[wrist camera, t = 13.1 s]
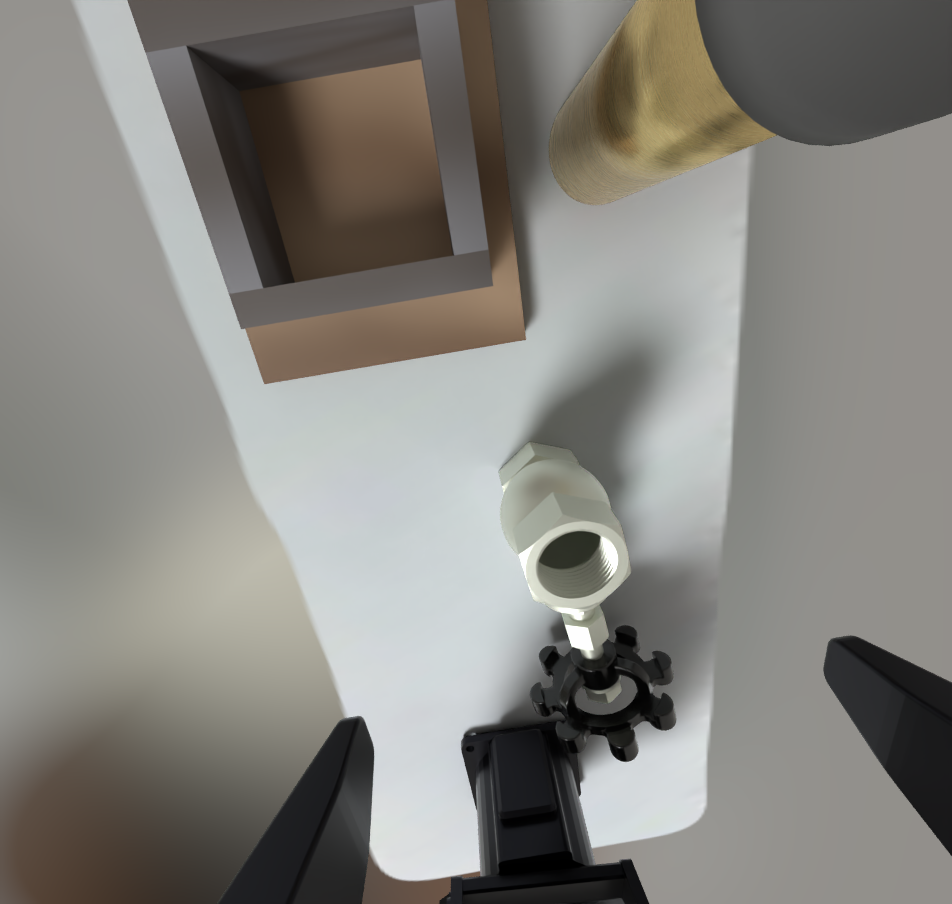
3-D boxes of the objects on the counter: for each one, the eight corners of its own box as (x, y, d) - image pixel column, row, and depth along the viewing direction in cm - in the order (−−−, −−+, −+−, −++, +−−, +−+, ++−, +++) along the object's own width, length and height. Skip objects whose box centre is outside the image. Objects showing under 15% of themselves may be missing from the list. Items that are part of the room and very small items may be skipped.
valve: (455, 458, 20) (524, 654, 24) (457, 542, 14) (549, 783, 18) (600, 414, 19) (644, 621, 24) (670, 479, 13) (711, 741, 18)
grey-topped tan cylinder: (666, 208, 17) (1109, 88, 5) (541, 230, 17) (729, 155, 5) (666, 51, 15) (1320, -601, 4) (527, 76, 15) (758, -493, 4)
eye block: (521, 336, 18) (540, 353, 14) (273, 378, 18) (228, 406, 14) (473, -73, 13) (483, -204, 10) (143, -15, 13) (27, -122, 10)
